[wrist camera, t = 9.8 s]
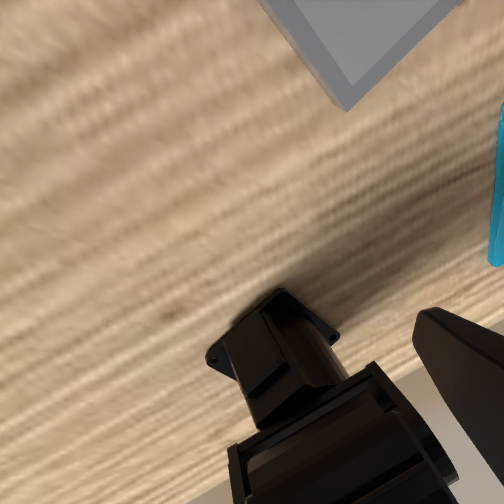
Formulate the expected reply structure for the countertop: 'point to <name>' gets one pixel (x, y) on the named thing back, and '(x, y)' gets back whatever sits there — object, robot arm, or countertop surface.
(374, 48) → the slate trivet
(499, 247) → the sponge
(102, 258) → the countertop surface
